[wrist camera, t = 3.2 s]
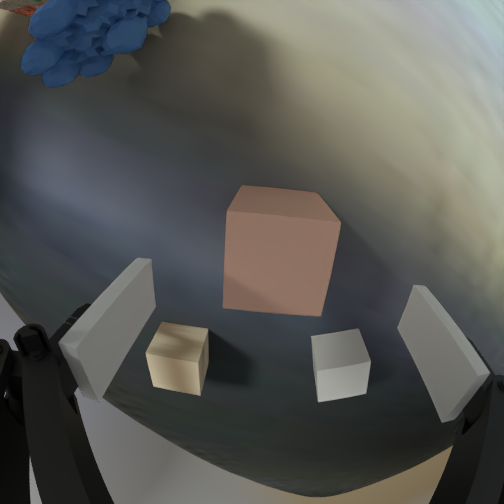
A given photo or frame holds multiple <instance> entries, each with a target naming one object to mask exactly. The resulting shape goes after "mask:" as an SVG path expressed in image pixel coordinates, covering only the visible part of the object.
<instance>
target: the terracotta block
mask: <svg viewBox="0 0 504 504" xmlns="http://www.w3.org/2000/svg"><path fill="white" fill-rule="evenodd" d="M340 227H341V222H340V220H339V219H338V218H337V216H336V215H335V214H334V213H333V211H332V210H331V209H330V208H329V206H328V205H327V204H326V203H325V201H324V200H323V199H322V198H321V197H320V195H319V194H318V193H315V192H307V191H299V190H290V189H280V188H271V187H260V186H248V185H241V187H240V189H239V190H238V192H237V194H236V196H235V197H234V199H233V201H232V203H231V204H230V206H229V208H228V210H227V216H226V236H225V259H224V286H223V308H228V309H237V310H246V311H257V312H267V313H279V314H292V315H306V316H321V314H322V310H323V306H324V302H325V298H326V293H327V289H328V285H329V280H330V276H331V272H332V267H333V262H334V258H335V253H336V248H337V243H338V238H339V232H340Z"/></svg>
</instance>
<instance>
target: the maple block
mask: <svg viewBox="0 0 504 504" xmlns="http://www.w3.org/2000/svg"><path fill="white" fill-rule="evenodd" d="M146 357H147V361H148V366H149V370H150V374H151V378H152V382H153V386H155V387H159V388H164V389H169V390H174V391H179V392H184V393H189V394H195V395H201V391H202V387H203V383H204V379H205V375H206V372H207V368H208V364H209V345H208V329H206V328H199V327H192V326H185V325H178V324H172V323H166V322H161V324H160V326H159V328H158V330H157V332H156V334H155V336H154V338H153V340H152V342H151V344H150V346H149V347H148V349H147V351H146Z"/></svg>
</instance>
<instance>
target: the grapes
mask: <svg viewBox="0 0 504 504" xmlns="http://www.w3.org/2000/svg"><path fill="white" fill-rule="evenodd" d="M170 11H171V6H170V4H169V2H168V1H166V0H49V1H48V2H46V3H45V4H43V5H42V6H40V7H39V8H38V9H37V10H36V11H35V13H34V14H33V16H32V17H31V19H30V21H29V27H28V31H29V33H30V34H31V35H32V37H34V38H38V39H36V40H35V41H33V42H32V43H31V44H30V45H29V46H28V47H27V49H26V51H25V52H24V54H23V56H22V58H21V70H22V71H23V72H24V73H25V74H26V75H34V76H35V75H38V74H41V73H42V81H43V82H44V84H45V85H46V86H48V87H54V88H55V87H59V86H64V85H66V84H68V83H69V82H71V81H72V80H74V79H75V78H76V76H77V75H78V74H80V75H81V76H85V77H92V76H97V75H99V74H101V73H104V72H105V71H107V70H108V68H109V67H110V65H111V63H112V61H113V56H114V54H127V53H131V52H134V51H137V50H139V49H140V48H141V47H142V46H143V44H144V42H145V40H146V36H147V28H148V27H153V26H156V25H160V24H162V23H164V22H165V21H166V20H167V19H168V17H169V15H170Z"/></svg>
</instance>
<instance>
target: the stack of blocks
mask: <svg viewBox="0 0 504 504" xmlns="http://www.w3.org/2000/svg"><path fill="white" fill-rule="evenodd" d="M48 1H49V0H0V9H4V10H9V11H11V12H15V13H19V14H23V15H27V16H31V17H32V16H33V14H34V13H35V11H36V10H37V9H38V8H39V7H40V6H42V5H43V4H45V3H46V2H48Z"/></svg>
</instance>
